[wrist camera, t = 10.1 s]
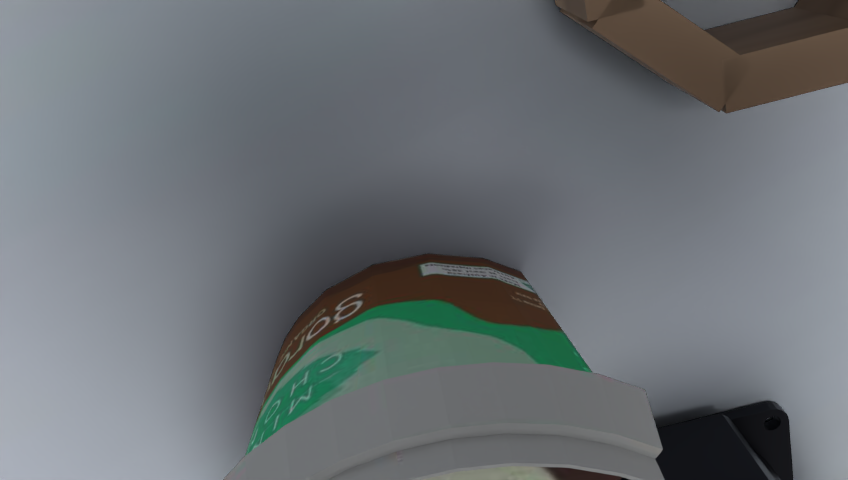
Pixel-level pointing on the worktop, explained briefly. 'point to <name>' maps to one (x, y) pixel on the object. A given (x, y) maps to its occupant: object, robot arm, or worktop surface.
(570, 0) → the ring
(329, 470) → the food container
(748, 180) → the worktop surface
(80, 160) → the worktop surface
